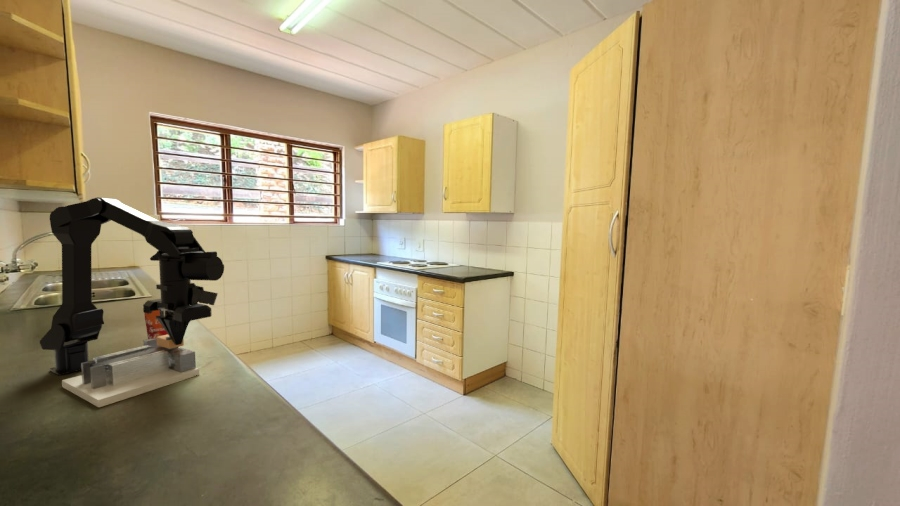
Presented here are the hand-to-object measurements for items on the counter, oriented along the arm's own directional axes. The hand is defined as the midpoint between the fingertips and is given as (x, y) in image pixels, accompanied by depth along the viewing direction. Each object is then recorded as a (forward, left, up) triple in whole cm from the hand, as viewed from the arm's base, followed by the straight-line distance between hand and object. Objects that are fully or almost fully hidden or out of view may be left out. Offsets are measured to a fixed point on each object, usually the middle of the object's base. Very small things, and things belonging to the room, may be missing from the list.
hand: (178, 344), depth 86 cm
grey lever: (-5, -6, -2) cm, 8 cm away
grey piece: (-5, -6, -6) cm, 10 cm away
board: (-5, -7, -7) cm, 11 cm away
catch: (-4, 0, -1) cm, 4 cm away
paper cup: (-24, +7, -7) cm, 26 cm away
